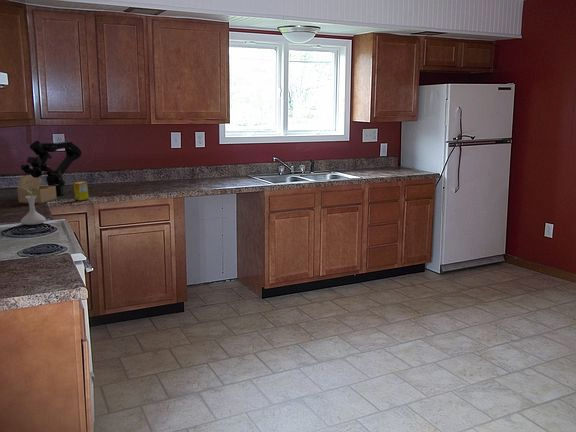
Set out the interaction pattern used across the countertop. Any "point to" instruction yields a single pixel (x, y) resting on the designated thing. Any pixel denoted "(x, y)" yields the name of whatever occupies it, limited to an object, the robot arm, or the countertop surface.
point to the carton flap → (34, 185)
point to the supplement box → (81, 191)
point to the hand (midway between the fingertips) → (30, 181)
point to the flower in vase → (31, 204)
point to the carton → (38, 194)
